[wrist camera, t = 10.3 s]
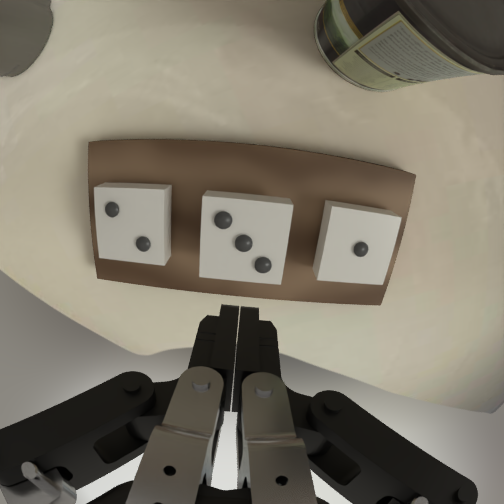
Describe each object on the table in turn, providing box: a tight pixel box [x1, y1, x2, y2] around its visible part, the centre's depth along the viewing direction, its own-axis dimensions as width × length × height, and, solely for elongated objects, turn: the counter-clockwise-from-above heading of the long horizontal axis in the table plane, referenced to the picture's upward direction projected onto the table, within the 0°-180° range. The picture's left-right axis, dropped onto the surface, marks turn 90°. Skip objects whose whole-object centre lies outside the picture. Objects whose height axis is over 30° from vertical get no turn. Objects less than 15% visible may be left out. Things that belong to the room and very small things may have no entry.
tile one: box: [312, 200, 402, 285], centre depth 22 cm, size 6×6×2 cm
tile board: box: [88, 139, 416, 305], centre depth 24 cm, size 13×28×2 cm, turn 84°
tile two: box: [94, 182, 172, 266], centre depth 21 cm, size 6×6×2 cm
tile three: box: [199, 190, 294, 285], centre depth 20 cm, size 6×6×2 cm
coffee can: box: [314, 0, 504, 92], centre depth 11 cm, size 10×10×14 cm
